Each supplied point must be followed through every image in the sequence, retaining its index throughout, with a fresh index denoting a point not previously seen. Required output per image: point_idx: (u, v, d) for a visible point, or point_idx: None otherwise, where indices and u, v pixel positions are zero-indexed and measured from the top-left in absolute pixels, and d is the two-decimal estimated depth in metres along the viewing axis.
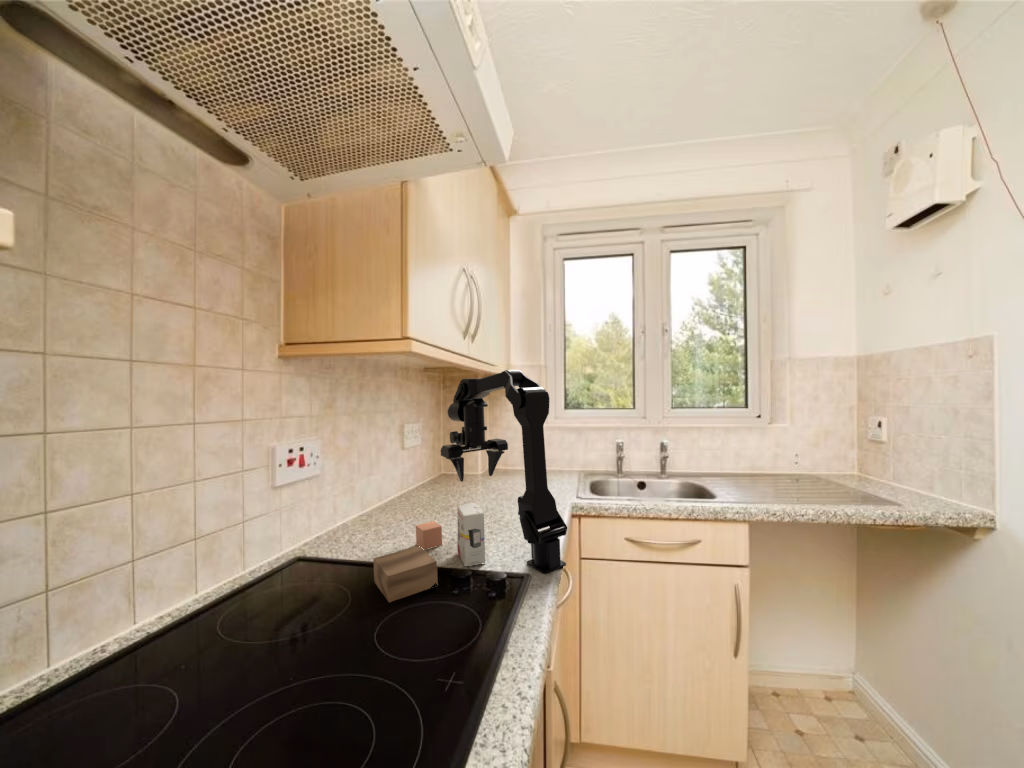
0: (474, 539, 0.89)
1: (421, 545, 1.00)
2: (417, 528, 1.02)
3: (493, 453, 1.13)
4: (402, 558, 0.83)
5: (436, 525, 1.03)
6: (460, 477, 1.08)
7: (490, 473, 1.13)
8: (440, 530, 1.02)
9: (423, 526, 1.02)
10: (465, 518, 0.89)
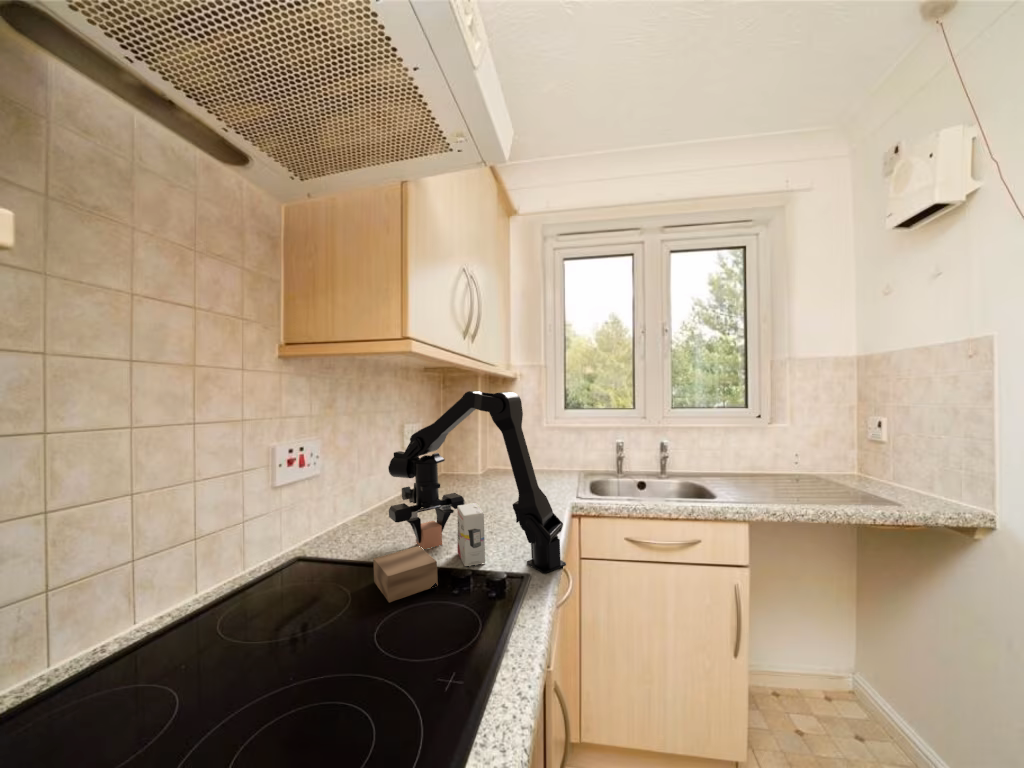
0: (474, 538, 0.89)
1: (421, 545, 1.00)
2: None
3: (441, 513, 1.03)
4: (402, 558, 0.83)
5: (436, 524, 1.03)
6: (417, 538, 1.00)
7: None
8: (440, 530, 1.02)
9: (423, 526, 1.02)
10: (465, 518, 0.89)
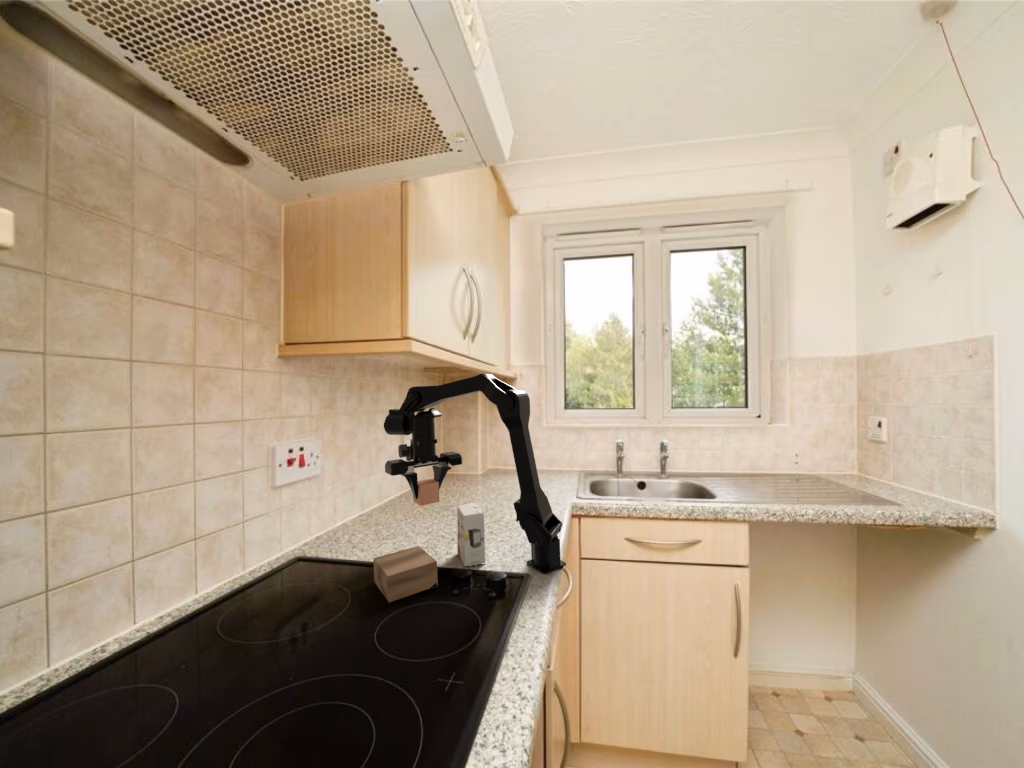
0: (474, 538, 0.89)
1: (418, 501, 0.99)
2: None
3: (438, 469, 1.02)
4: (402, 558, 0.83)
5: (433, 481, 1.01)
6: (414, 494, 0.99)
7: None
8: (437, 486, 1.00)
9: (420, 482, 1.00)
10: (465, 518, 0.89)
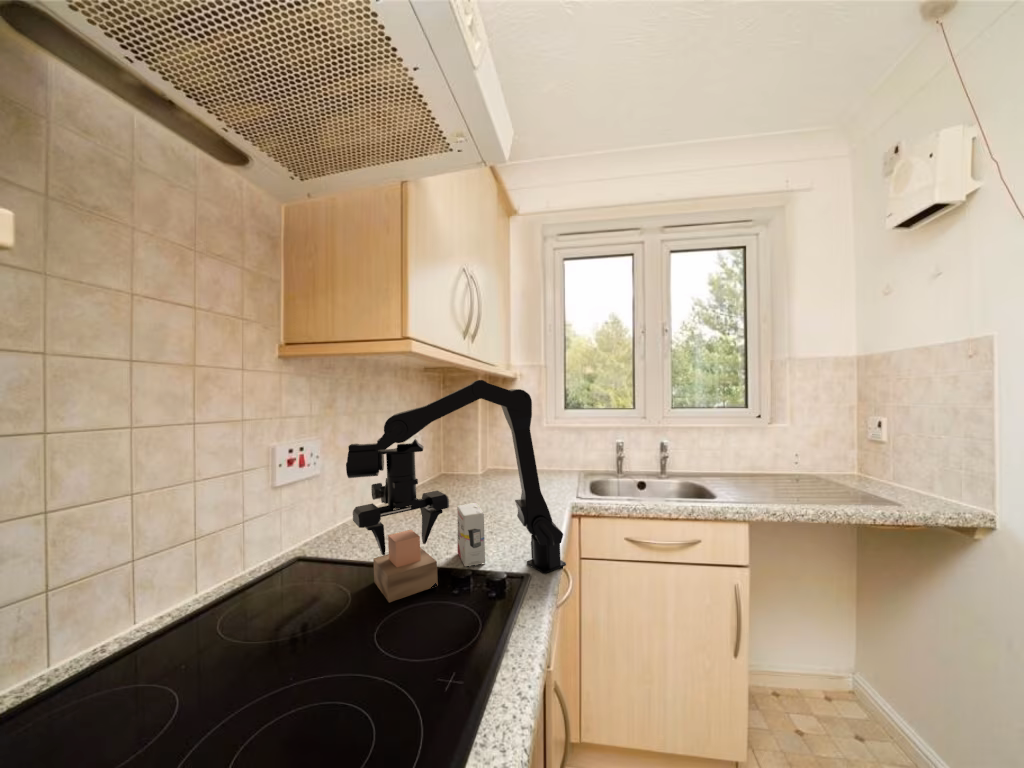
0: (474, 538, 0.89)
1: (394, 560, 0.80)
2: (389, 538, 0.82)
3: (427, 513, 0.84)
4: None
5: (413, 535, 0.83)
6: (381, 549, 0.79)
7: (423, 540, 0.85)
8: (418, 541, 0.82)
9: (397, 536, 0.82)
10: (465, 518, 0.89)
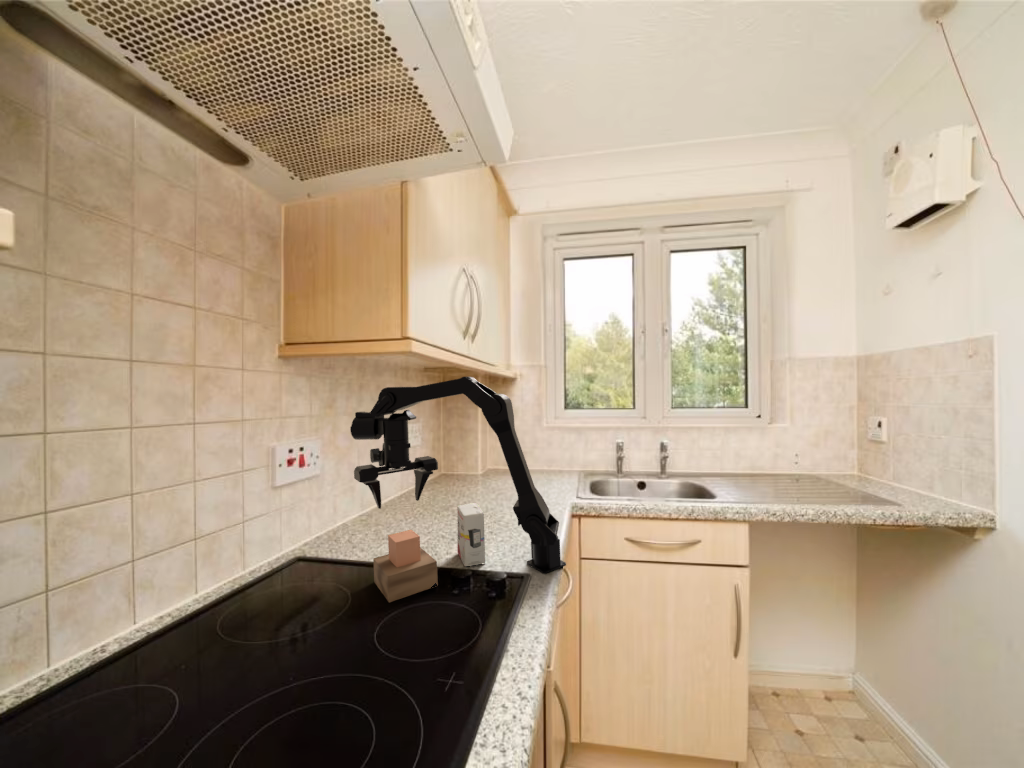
0: (474, 539, 0.89)
1: (394, 560, 0.80)
2: (389, 538, 0.82)
3: (420, 474, 0.97)
4: None
5: (413, 535, 0.83)
6: (377, 503, 0.92)
7: (416, 497, 0.97)
8: (418, 541, 0.82)
9: (397, 536, 0.82)
10: (465, 518, 0.89)
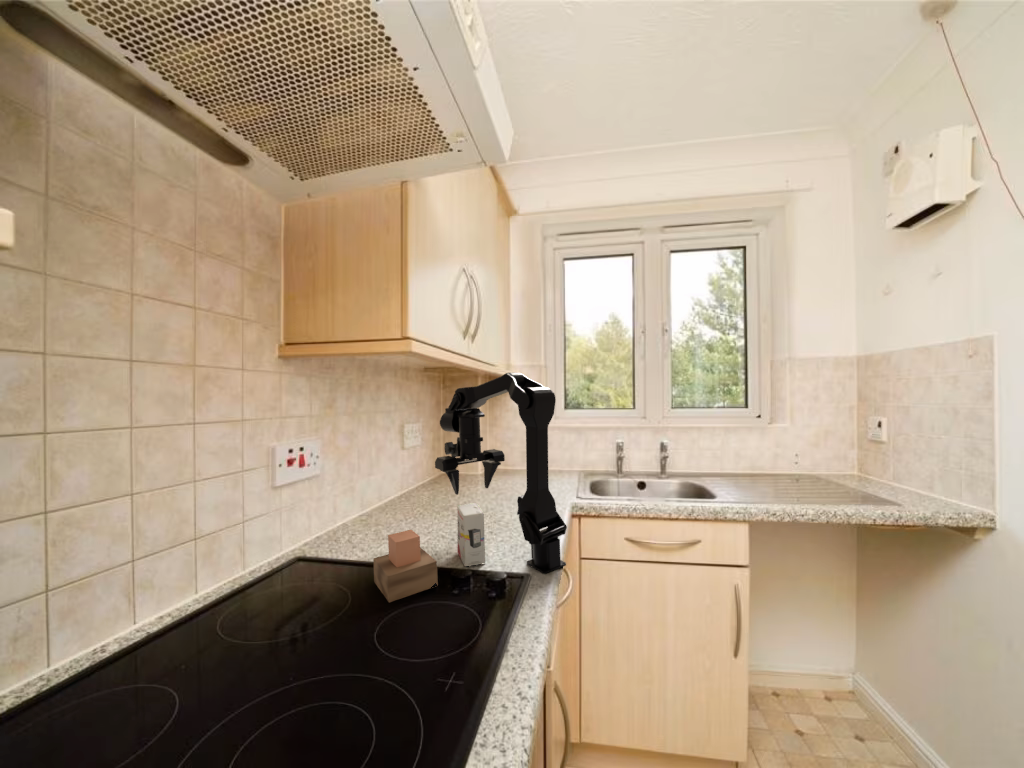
0: (474, 538, 0.89)
1: (394, 560, 0.80)
2: (389, 538, 0.82)
3: (489, 464, 1.09)
4: None
5: (413, 535, 0.83)
6: (455, 490, 1.04)
7: (486, 485, 1.10)
8: (418, 541, 0.82)
9: (397, 536, 0.82)
10: (465, 518, 0.89)
